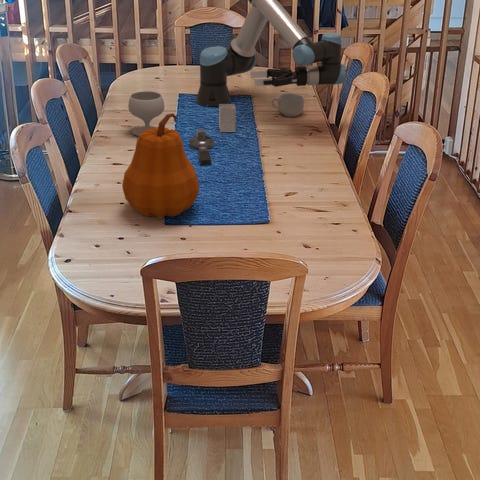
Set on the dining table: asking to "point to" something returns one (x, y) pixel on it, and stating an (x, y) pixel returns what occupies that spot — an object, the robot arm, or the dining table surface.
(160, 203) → the decorative pumpkin
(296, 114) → the teacup
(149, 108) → the chalice
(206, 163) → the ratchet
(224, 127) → the tall taupe upright block
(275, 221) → the dining table surface
